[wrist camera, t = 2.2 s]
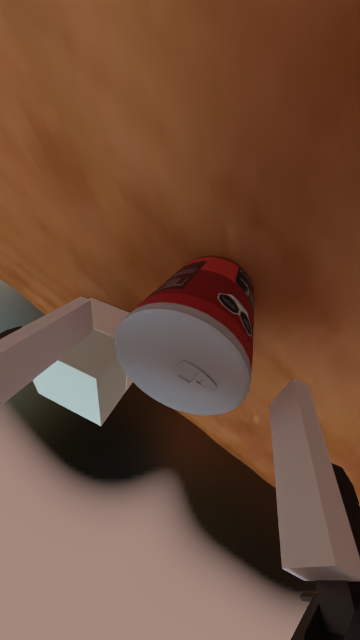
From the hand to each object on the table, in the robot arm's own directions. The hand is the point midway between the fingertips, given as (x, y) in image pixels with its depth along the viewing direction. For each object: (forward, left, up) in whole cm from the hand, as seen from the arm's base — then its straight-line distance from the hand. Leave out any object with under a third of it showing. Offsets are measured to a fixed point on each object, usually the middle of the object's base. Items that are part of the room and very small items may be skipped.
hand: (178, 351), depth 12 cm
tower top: (+11, +11, -4) cm, 16 cm away
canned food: (0, 0, -9) cm, 9 cm away
